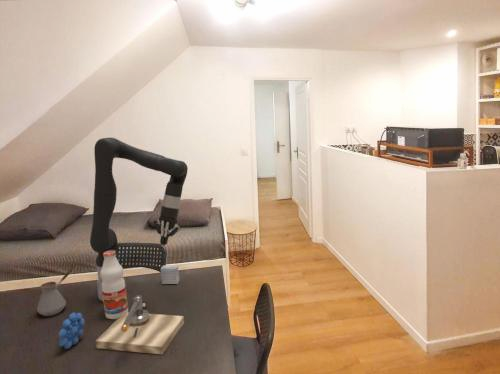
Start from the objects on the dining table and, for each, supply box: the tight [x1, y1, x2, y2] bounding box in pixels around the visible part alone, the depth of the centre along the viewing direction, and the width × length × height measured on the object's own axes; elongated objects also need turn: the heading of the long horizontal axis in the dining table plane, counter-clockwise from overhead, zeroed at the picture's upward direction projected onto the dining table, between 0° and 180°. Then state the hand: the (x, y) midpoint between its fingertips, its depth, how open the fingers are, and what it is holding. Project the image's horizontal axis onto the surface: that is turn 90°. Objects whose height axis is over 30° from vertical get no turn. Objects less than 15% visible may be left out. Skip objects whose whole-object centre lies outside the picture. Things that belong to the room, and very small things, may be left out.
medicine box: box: [160, 264, 180, 285], centre depth 181 cm, size 8×4×9 cm, turn 84°
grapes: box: [58, 312, 85, 350], centre depth 134 cm, size 12×7×12 cm, turn 161°
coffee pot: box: [36, 266, 76, 317], centre depth 163 cm, size 21×12×15 cm, turn 162°
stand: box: [95, 311, 185, 355], centre depth 138 cm, size 26×20×3 cm
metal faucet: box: [121, 294, 150, 332], centre depth 134 cm, size 23×8×9 cm, turn 4°
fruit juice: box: [100, 250, 129, 320], centre depth 152 cm, size 9×9×28 cm
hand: (163, 244), depth 156 cm, fingers closed
